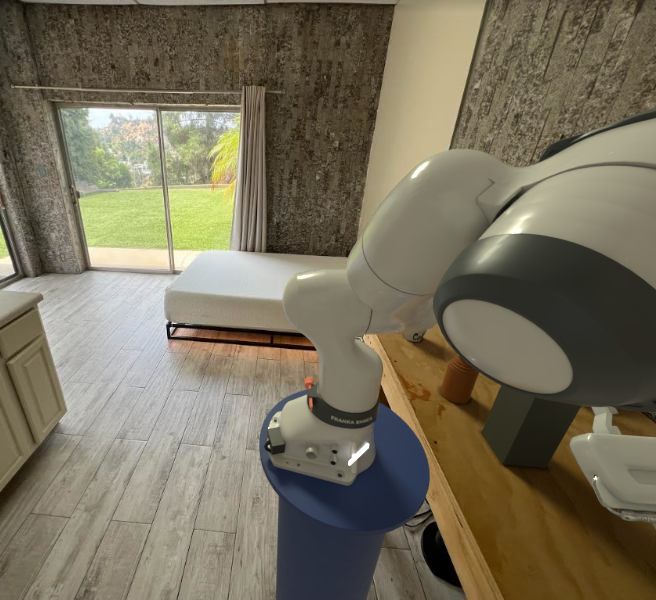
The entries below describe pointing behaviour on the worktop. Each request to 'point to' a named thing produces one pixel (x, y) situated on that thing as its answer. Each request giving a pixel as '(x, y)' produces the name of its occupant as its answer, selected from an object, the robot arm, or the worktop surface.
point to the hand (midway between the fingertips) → (638, 403)
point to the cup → (415, 335)
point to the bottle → (459, 381)
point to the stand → (526, 428)
